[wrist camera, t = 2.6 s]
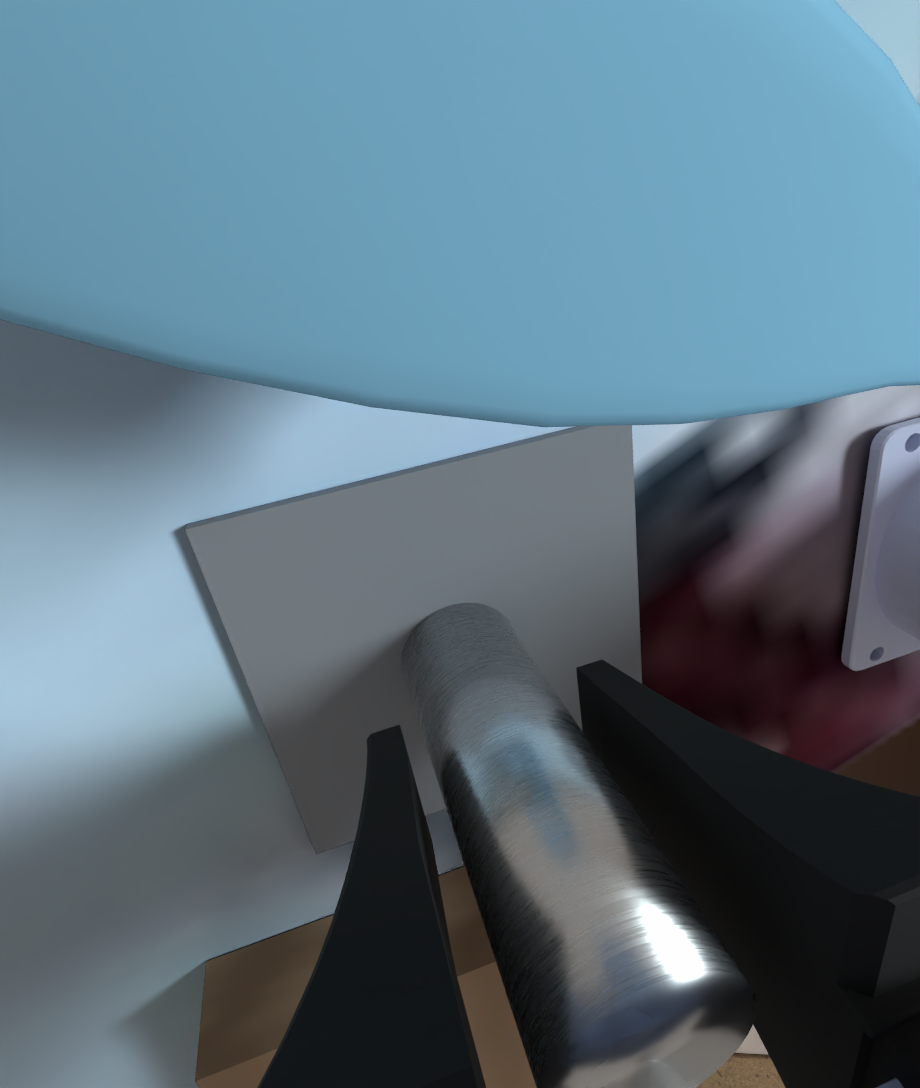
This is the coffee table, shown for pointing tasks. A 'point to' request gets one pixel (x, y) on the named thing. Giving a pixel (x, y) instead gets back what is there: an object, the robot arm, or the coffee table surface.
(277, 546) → the mat
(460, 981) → the block
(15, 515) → the coffee table surface
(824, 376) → the chair
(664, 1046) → the peg
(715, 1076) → the candle holder
